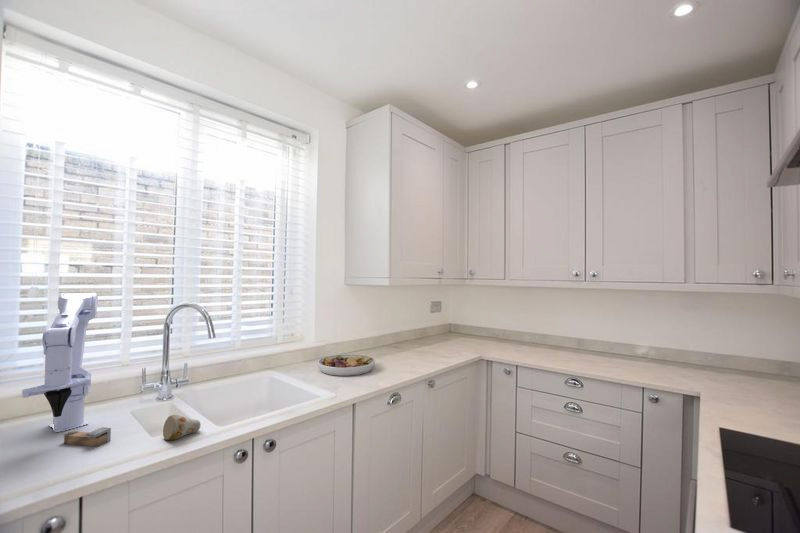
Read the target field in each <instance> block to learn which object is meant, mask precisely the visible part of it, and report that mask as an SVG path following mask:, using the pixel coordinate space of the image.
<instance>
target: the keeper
mask: <svg viewBox="0 0 800 533" xmlns="http://www.w3.org/2000/svg"><path fill="white" fill-rule="evenodd" d="M111 430H112V429H111V427H106V426H105V427H104V426H102V427H99V428H96V429H94V430H92V431H89V433H87V434H86V436H87V437H97V436H99V435H101V434H107V442H106V443H108V442H110V441H111V437H112V436H111V433H112V432H111Z"/></svg>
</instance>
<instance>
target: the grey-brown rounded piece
mask: <svg viewBox="0 0 800 533" xmlns="http://www.w3.org/2000/svg"><path fill="white" fill-rule="evenodd" d="M200 428H201V421H200V420H199V419H193V418H192V419H191V418H188V417H185V416H183V415H181V414H172V415H169V416H168V417H167V418H166V420H165V421H164V425H163V429H162V437H163V439H164V440H165V441H174V439H175V440H178V439H181V438H182V437H184V436H186V435H188V434H189V435H190V434H196V433H198V432H199V431H200ZM195 432H196V433H195Z"/></svg>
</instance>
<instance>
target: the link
mask: <svg viewBox="0 0 800 533" xmlns="http://www.w3.org/2000/svg"><path fill="white" fill-rule="evenodd" d="M89 432H90V431H89ZM89 432H88V431H75V430H74V429H70V430H67V432H65V433H64V434H63V444H64V445H77V446H87V447H100V446H102V445H103V444H105V443H108V442H107V434H101V435H99V436H97V437H87V436H86V434H87V433H89Z"/></svg>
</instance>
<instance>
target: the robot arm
mask: <svg viewBox="0 0 800 533" xmlns="http://www.w3.org/2000/svg"><path fill="white" fill-rule="evenodd" d="M98 302H99V301H98V294H97V293H96V292H85V293H84V292H83V293H80V292H79V293H77V292H76V293H73V292H72V293H64V292H61V293H60V294H59V296H58V299H57V309H58V311H59V314H58V315H57V316H55V318H54V320H53V322H52V324H51V325H50V327H48V329H45V330H44V331H43V334H42V338H41V339H42V340H41V341H42V348H43V355H45V356H44V384H41V385H37V386H33V387H29V388H24V389H21V397H22V398H23V399H25V398H26V399H27V398H29V397H33V396H37V395H44V396H45V398H46V400H47V402H48V404H49V406H50V407H51V408H50V409H51V412H52V423H53V424H54V430H53V432H54V433H56V432H59V433H61V432H60V431H62V432H65V430H66V431H70V430H73V429H72V428H74V429H77V428H76V427H78V428H80V427H79V426H82V425H86V424H88V425H89V422H88V421H86V422H84V420H85V397H86V396H88V395H89V394H90V393H91V388H92V373H91V372H90V371H89V370H88V369H86V368H84V367H82V366H83V360H84V359H83V358H84V351H85V345H86V344H85V342H86V336H87V328H88V324H89V322H90V321H91V320H93V319H95V318H96V315H97V313H98V312H97V311H98V305H99V304H98ZM85 423H86V424H85ZM86 426H87V425H86ZM82 427H83V426H82ZM69 429H70V430H69Z"/></svg>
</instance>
